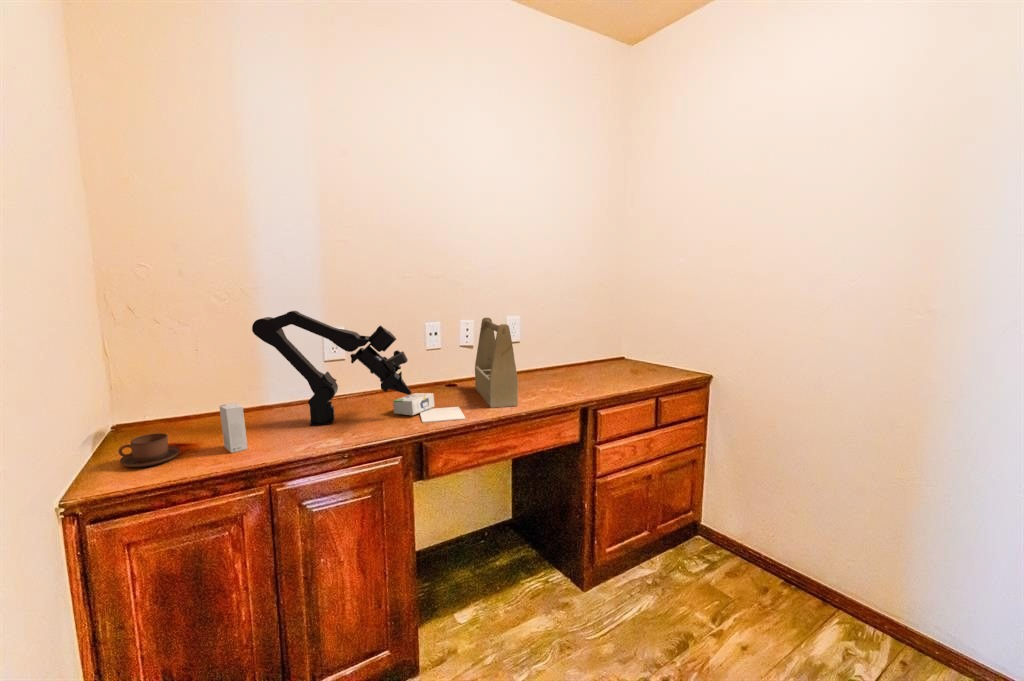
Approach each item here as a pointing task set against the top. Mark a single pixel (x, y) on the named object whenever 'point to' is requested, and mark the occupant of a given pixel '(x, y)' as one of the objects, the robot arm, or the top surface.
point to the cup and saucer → (148, 451)
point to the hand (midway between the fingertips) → (410, 393)
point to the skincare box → (233, 427)
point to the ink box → (413, 403)
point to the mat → (442, 414)
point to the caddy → (496, 366)
